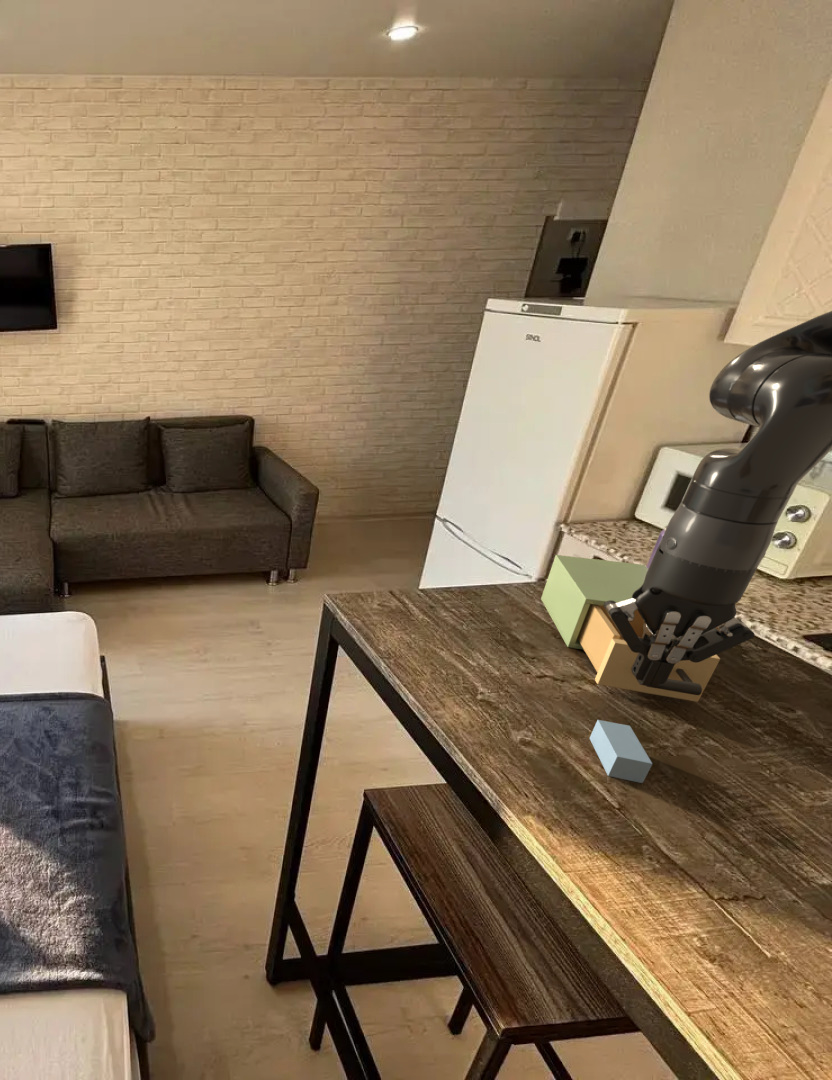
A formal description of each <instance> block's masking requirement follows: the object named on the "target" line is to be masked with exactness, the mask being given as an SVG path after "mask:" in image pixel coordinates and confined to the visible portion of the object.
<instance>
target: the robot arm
mask: <svg viewBox="0 0 832 1080" xmlns="http://www.w3.org/2000/svg"><path fill="white" fill-rule="evenodd" d="M708 400H709V404H710V405H711V407H712V409H713V410H715V412H716V413H718V414H719V415H721V416H723V417H725V418H727V419H729V420H732V421H736V422H739V423H741V424H742V423H743V424H746V425H750V426H753V427H756V428H758V429H757V431H756V432H755V434H754V436H752V438H750V440H749V441H748V442H747V443H746V444H745V445H744V446H743V447H725V448H719V449H715V450H712V451H710V452H708V453H707V454H705V455H704V456H703V457H702V458H701V460H700V461H699V463H698V465H697V467H696V469H695V470H694V473H693V475H692V478H691V479H690V480H689V481H690V482H689V484H688V486H687V489H686V491H685V493H684V495H683V497H682V499H681V501H680V503H679V505H678V507H677V508H676V509H675V512H674V513H673V514H672V516H671V518H670V520H669V522H667V525H668V526H667V525H666V526H667V528H666V530H665V532H664V535H663V537H662V539H661V542H660V544H659V546H658V548H657V550H656V553H655V555H654V557H653V560H652V562H651V564H650V566H649V569H648V571H647V573H646V576H645V580H644V583H643V585H642V586H641V587H640V588H639V589H637V590H636V591H635V592H634V593H633V595H632V598H630V599H627V600H624V601H621V602H618V603H616V602H615V601H612V600H609V601H606V602H605V603H604V608H605V609H606V611H607V613H608V614H609V616H610V617H611V619H612V621H613V622H614V624H615V626H616V627H617V629H618V631H619V632H620V634H621V636H622V637H623V639H624V640H625V642H626V643H627V644H628V646H629V648H630V649H631V651H633V652H635V653H638V655H637V657H636V660H635V662H634V664H633V666H632V668H631V669H632V673H633V675H634V676H635V678H636V679H637V681H638V682H639V684H640V685H644V686H650V687H655V688H657V687H658V686H659V684H663V683H665V682H666V681H667V679H668V677H669V675H670V673H671V671H672V669H673V667H674V665H675V664H676V663H678V662H680V661H683V660H690V661H692V662H695V663H697V662H701V661H703V660H705V659H707V658H710V657H712V656H714V655H718V654H721V653H722V652H726V651H727V650H730V649H732V648H734V647H737V646H738V645H741V644H743V643H745V642H747V641H749V640H751V639H753V638H755V632H754V631H753V630H752V629H751V628H750V627H749V626H748V625H747V624H746V623H744V622H743V621H742V620H741V619H739V618H736V615H737V613H738V612H737V607H736V604H737V603H739V602H740V600H742V598H743V596H744V593H745V592H746V590H747V588H748V586H749V584H750V583H751V580H752V579H753V577H754V575H755V573H756V571H757V569H758V568H759V565H760V564H761V562H762V560H763V559H764V557H765V556H766V553H767V551H768V549H769V547H770V545H771V543H772V541H773V536H774V533H775V530H776V528H777V525H778V522H779V520H780V518H781V516H782V514H783V512H784V510H785V509H786V507H787V505H788V503H789V501H790V500H791V497H792V495H793V494H794V492H795V490H796V487H797V486H798V484H799V483H800V482H801V480H803V479H804V477H805V476H807V474H809V473H810V472H811V470H813V469H814V468H815V467H816V466H818V464H819V463H820V462H821V461H822V460H823V459H824V458H825V457H826V456H827V455H828V454H829V453H830V452H831V451H832V310H830V311H828V312H825V313H821V314H820V315H817V316H814V317H813V318H811V319H808V320H806V321H804V322H802V323H800V324H797V325H795V326H792V327H790V328H788V329H786V330H784V331H781V332H779V333H777V334H775V335H772V336H770V337H768V338H766V339H764V340H762V341H760V342H758V343H756V344H754V345H752V346H751V347H748V348H747V349H746V350H744V351H743V352H741V353H739V354H738V355H737V356H735V357H734V358H733V359H731V360H730V361H729V362H728V363H727V364H726V365H725V366H724V367H723V368H722V369H721V370H720V371H719V372H718V374H716V376H715V378H714V380H713V381H712V383H711V385H710V388H709V393H708ZM636 609H637V610H638V612H639V613H640V615H641V617H642V619H643V621H644V624H643V635H642V638H641V637H638V636H637V634H636V633H635V631H634V629H633V628H632V626H631V624H630V623H629V621H633V618H634V617H635V615H634V611H635V610H636Z"/></svg>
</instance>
